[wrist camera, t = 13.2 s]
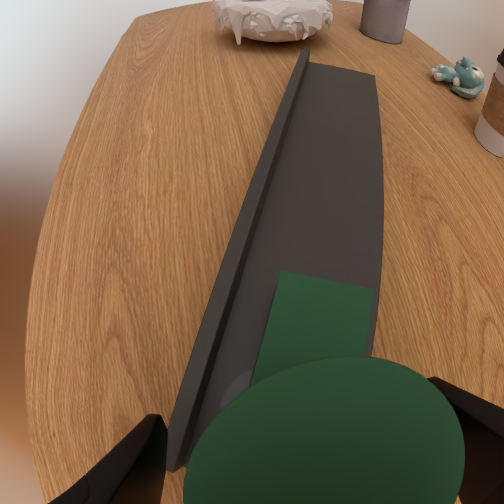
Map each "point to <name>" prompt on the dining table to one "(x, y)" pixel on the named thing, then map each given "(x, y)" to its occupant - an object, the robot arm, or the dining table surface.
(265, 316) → the shoe shelf
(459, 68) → the stuffed animal
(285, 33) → the bowl
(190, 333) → the dining table surface
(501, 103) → the coffee cup
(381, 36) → the pillar candle
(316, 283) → the green cylinder on block
